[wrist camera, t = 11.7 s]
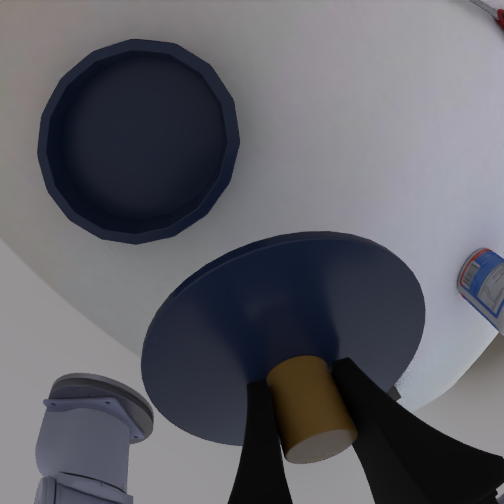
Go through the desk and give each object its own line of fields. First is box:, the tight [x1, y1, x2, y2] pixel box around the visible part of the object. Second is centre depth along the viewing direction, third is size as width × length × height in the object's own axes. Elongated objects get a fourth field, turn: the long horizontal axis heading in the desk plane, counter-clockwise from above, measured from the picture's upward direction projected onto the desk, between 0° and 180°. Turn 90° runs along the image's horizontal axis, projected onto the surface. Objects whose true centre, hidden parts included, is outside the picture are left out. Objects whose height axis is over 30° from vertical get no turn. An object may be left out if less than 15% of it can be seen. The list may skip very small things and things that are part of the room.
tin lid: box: [141, 231, 425, 464], centre depth 10 cm, size 11×11×4 cm
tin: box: [37, 39, 240, 245], centre depth 14 cm, size 10×10×2 cm
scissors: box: [470, 0, 504, 30], centre depth 13 cm, size 5×14×1 cm, turn 90°
